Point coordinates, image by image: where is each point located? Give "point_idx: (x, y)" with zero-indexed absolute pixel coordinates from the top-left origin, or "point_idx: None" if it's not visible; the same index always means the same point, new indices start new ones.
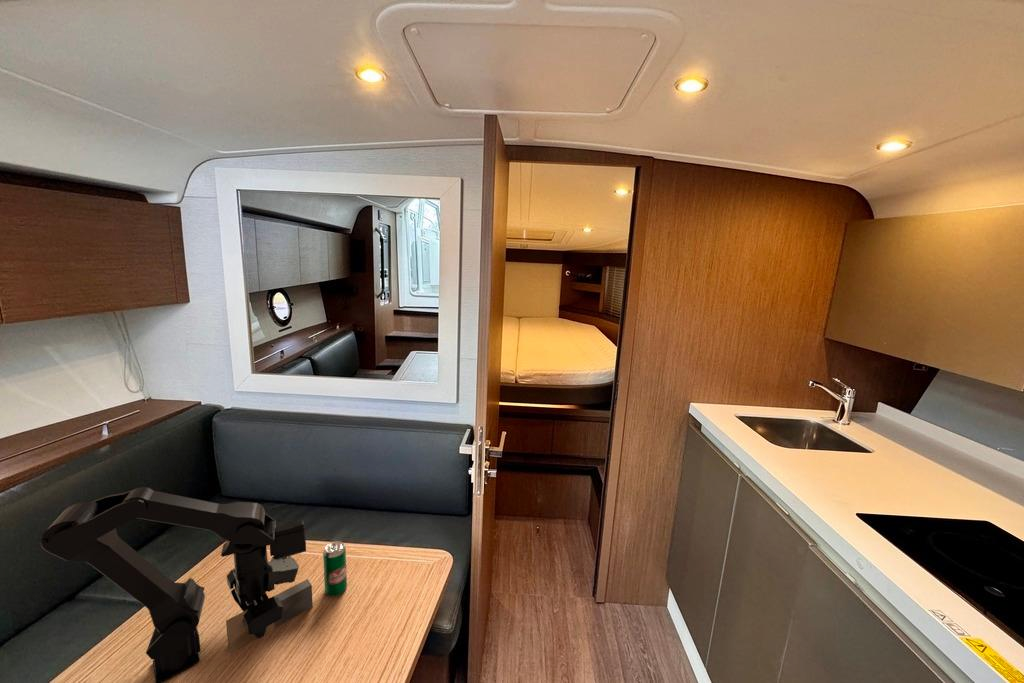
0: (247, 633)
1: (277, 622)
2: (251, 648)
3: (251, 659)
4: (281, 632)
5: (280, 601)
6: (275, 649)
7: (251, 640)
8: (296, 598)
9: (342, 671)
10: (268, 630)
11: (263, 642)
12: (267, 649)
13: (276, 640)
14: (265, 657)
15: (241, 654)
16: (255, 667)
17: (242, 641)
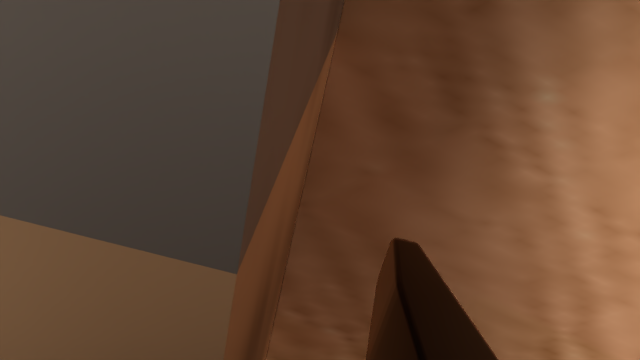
0: (258, 356)
1: (337, 8)
2: (367, 276)
3: (481, 328)
4: (477, 15)
5: (274, 47)
6: (623, 182)
7: (288, 250)
8: None
9: None
10: (319, 107)
11: (407, 195)
12: (531, 219)
13: (525, 114)
14: (597, 272)
15: (350, 335)
16: (594, 352)
17: (266, 340)
